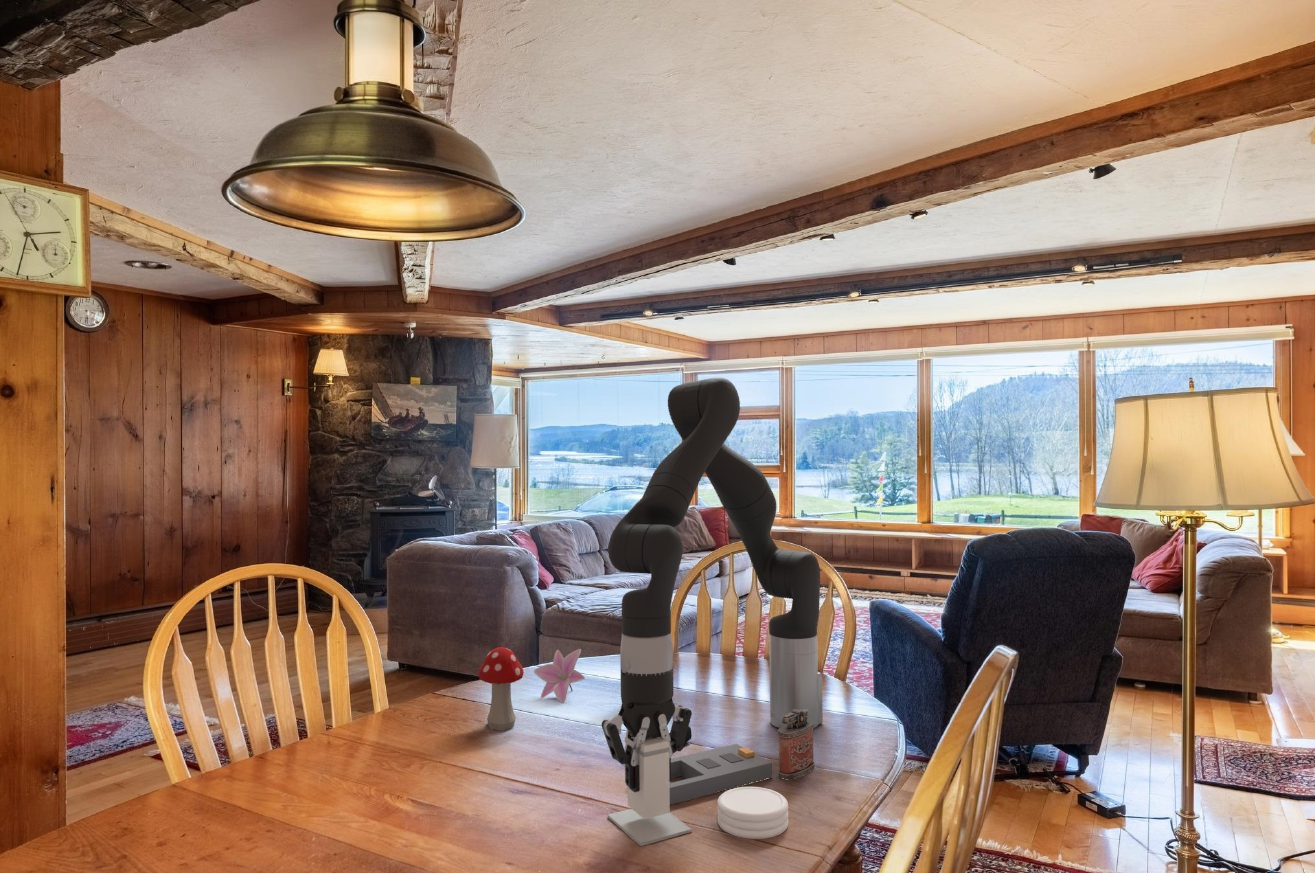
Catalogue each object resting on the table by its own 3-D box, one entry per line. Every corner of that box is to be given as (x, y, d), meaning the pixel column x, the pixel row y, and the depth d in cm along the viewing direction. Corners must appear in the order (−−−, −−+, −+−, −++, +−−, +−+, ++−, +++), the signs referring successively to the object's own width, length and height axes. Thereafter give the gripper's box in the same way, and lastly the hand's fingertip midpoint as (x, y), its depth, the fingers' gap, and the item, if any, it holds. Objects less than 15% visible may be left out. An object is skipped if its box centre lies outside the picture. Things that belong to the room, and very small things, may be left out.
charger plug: (652, 799, 118) (651, 730, 118) (670, 812, 113) (669, 740, 114) (627, 805, 116) (626, 735, 116) (644, 819, 111) (643, 746, 112)
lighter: (802, 762, 137) (801, 702, 137) (819, 767, 134) (818, 707, 135) (773, 776, 131) (772, 714, 131) (790, 782, 129) (789, 718, 129)
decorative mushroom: (530, 729, 155) (529, 650, 155) (485, 736, 151) (485, 655, 152) (515, 714, 164) (515, 640, 164) (473, 721, 160) (472, 645, 161)
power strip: (736, 758, 139) (736, 739, 139) (772, 778, 130) (772, 758, 130) (633, 782, 129) (633, 762, 129) (665, 806, 120) (664, 784, 120)
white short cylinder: (703, 824, 115) (702, 799, 115) (747, 803, 122) (746, 779, 122) (759, 848, 108) (758, 821, 108) (802, 823, 115) (802, 798, 115)
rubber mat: (655, 805, 121) (655, 802, 121) (691, 831, 112) (691, 828, 112) (607, 817, 117) (607, 814, 117) (640, 846, 108) (640, 843, 108)
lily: (532, 694, 181) (521, 662, 177) (577, 667, 187) (567, 635, 182) (557, 724, 172) (546, 691, 168) (603, 695, 177) (594, 662, 173)
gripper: (676, 652, 122) (677, 767, 121) (590, 665, 115) (591, 787, 114) (703, 663, 115) (704, 785, 115) (613, 678, 108) (615, 807, 108)
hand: (648, 785), depth 115 cm, fingers closed on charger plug, 4 cm apart
